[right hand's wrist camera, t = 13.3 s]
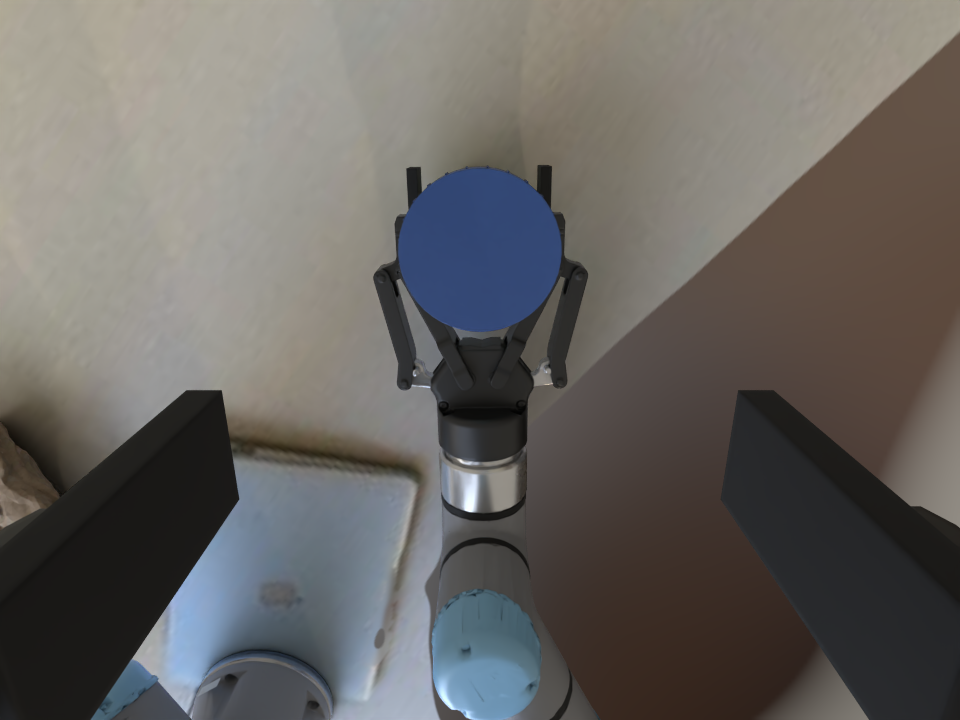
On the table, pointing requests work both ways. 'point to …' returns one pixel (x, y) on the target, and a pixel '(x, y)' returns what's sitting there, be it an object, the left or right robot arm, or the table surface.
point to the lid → (479, 249)
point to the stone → (20, 483)
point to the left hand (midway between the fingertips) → (479, 166)
